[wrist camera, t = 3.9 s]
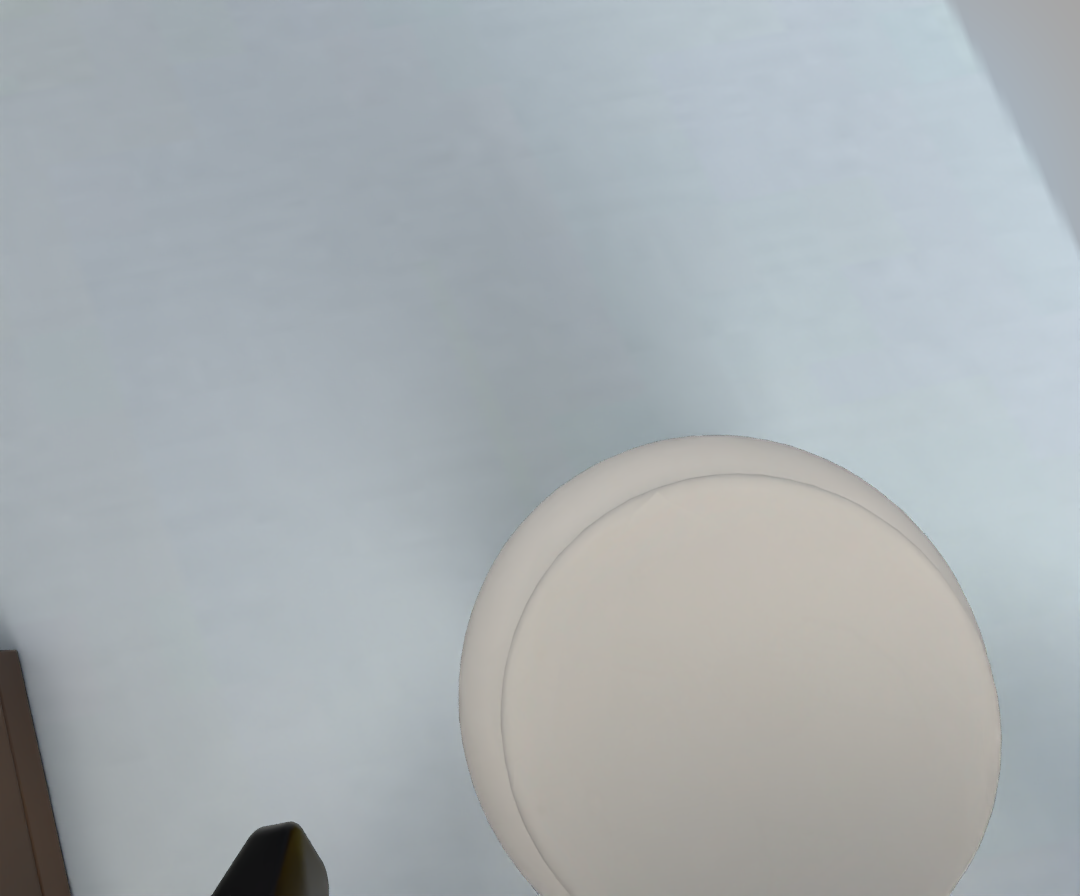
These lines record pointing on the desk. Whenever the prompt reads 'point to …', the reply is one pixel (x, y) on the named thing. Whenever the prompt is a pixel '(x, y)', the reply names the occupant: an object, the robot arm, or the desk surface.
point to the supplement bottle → (728, 685)
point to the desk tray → (24, 798)
